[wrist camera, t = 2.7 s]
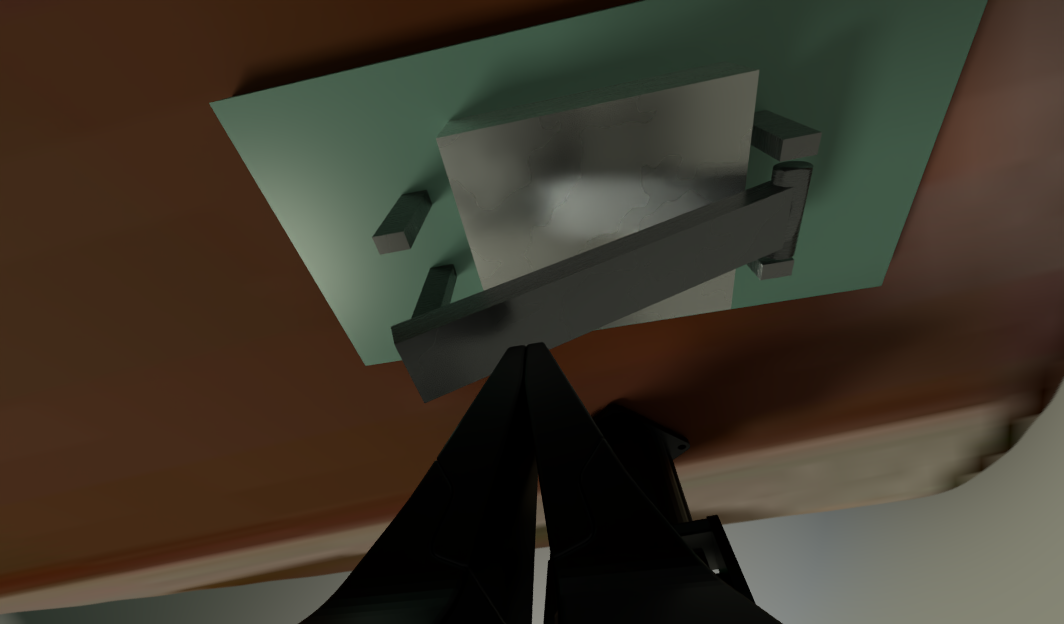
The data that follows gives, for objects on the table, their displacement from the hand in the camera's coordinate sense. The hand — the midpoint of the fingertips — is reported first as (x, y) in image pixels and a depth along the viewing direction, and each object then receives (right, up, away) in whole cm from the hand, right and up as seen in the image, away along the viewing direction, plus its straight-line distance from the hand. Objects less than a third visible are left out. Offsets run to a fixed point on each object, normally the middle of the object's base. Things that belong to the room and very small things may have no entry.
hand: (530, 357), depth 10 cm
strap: (+2, +2, +2) cm, 4 cm away
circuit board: (+2, +6, +7) cm, 9 cm away
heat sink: (+2, +5, +6) cm, 8 cm away
